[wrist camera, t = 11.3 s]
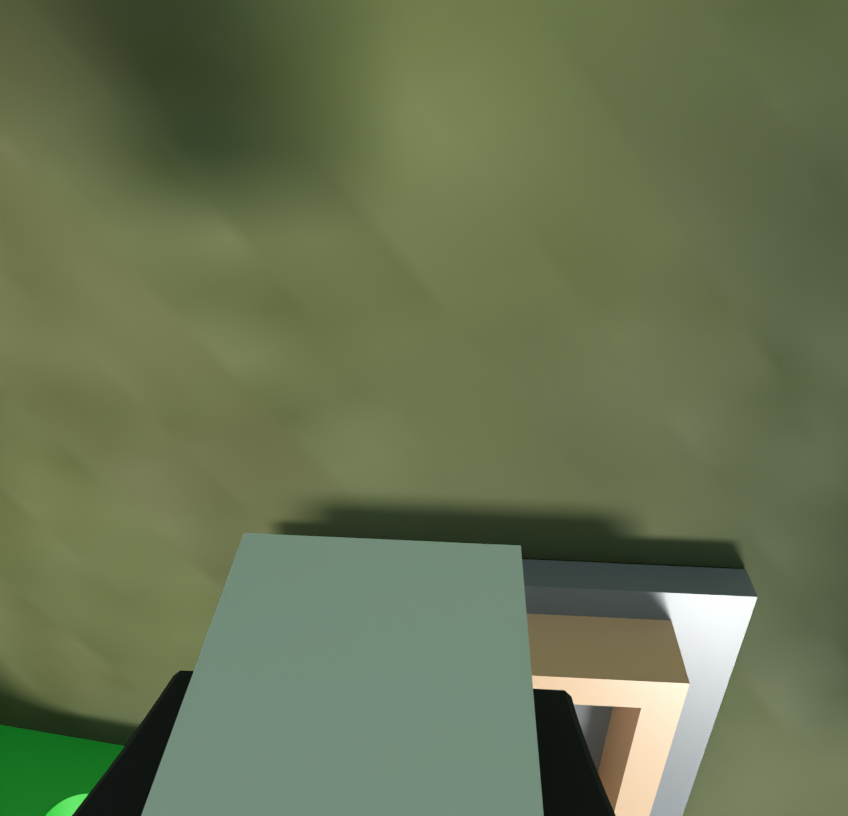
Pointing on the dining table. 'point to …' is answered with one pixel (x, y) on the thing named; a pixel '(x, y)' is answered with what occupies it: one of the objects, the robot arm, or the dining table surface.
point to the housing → (638, 666)
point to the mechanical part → (49, 771)
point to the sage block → (359, 685)
